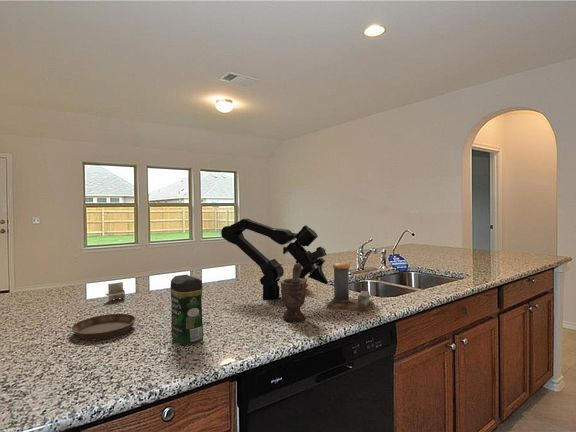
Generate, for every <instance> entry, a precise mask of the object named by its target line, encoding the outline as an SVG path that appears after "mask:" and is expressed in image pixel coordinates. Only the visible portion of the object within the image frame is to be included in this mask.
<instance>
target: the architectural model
mask: <svg viewBox="0 0 576 432" xmlns="http://www.w3.org/2000/svg"><path fill="white" fill-rule="evenodd" d="M107 286H108V288H107V289H108V291H107V292H108V293H105V296H107V297H108V301H109V300H113V299H119V298H124V299H126V292H125V291H126V290H125V288H124V282H123V281H120V282H112V283H108V285H107ZM124 299H123V300H124ZM113 301H114V300H113Z"/></svg>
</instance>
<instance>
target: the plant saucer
mask: <svg viewBox="0 0 576 432" xmlns="http://www.w3.org/2000/svg"><path fill="white" fill-rule="evenodd" d="M135 321H136V316H134V315H132V314H128V313H110V314H109V313H107V314H102V315H96V316H91V317H89V318H86V319H83V320H81V321H78V322H76V323H75V324H73V325H72V326H71V327H70V328H71V329H70V330H71V331H72V332H73V333H74V334H75V336H77V337H78V338H80V339H82V340H86V339H98V340H105V339H104V338H106V339H110V338H109V337H111V338H114V336H115V337H118V336H120V334H121V335H123V334H124V332H125V333H126V332H128V331H129V330H130V329H131V328H132V326H133V325H134V324H135ZM122 333H123V334H122ZM117 335H118V336H117Z"/></svg>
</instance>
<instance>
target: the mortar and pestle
mask: <svg viewBox="0 0 576 432" xmlns="http://www.w3.org/2000/svg"><path fill="white" fill-rule="evenodd" d="M292 267H293V268H292V277H291V278H290V277H289V278H285V279H281V281H280V296H281V301H282V303H283V306H285V307H286V311H285V312H284V314H283V316H282V319H283V320H284V321H286V322H293V323H299V322H303V321H304V320H305V319H306V317H305V314H304V312H302V311H301V307H302V306H303V305H304V304H305V300H306V297H307V296H306V295H307V288H306V284H307V282H306V280H304V279H300V278H299V276H300V273H301V270H302V269H303V267H302V266H301V265H300V264H299V263H294V265H293V266H292Z"/></svg>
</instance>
